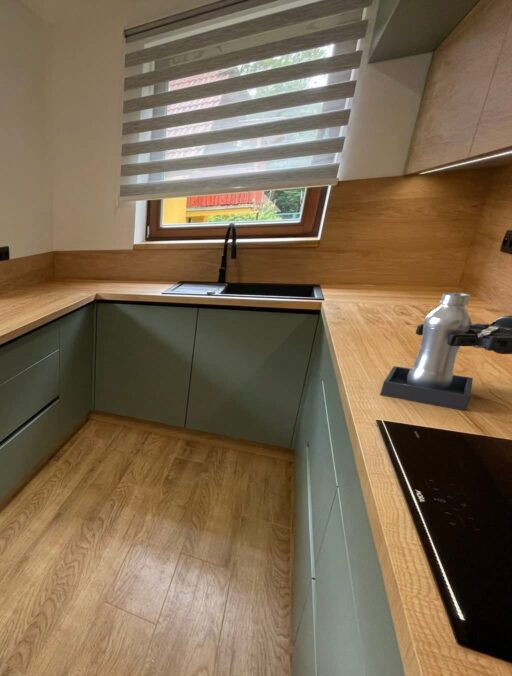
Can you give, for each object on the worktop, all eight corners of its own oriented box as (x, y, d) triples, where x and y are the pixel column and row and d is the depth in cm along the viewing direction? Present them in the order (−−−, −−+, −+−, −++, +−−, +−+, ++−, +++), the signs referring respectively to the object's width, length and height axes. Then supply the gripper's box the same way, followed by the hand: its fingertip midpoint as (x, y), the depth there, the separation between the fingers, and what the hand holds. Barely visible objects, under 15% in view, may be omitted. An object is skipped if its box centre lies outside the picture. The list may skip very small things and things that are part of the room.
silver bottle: (451, 398, 85) (487, 297, 78) (406, 392, 88) (436, 295, 82) (443, 388, 90) (476, 292, 83) (401, 383, 93) (429, 291, 86)
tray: (465, 410, 81) (470, 396, 80) (380, 394, 89) (383, 381, 88) (467, 391, 89) (472, 377, 88) (389, 378, 98) (393, 365, 97)
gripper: (561, 364, 77) (454, 363, 80) (492, 344, 90) (403, 343, 93) (579, 324, 74) (468, 323, 77) (505, 308, 87) (413, 309, 90)
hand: (432, 334), depth 85 cm, fingers open, 8 cm apart
